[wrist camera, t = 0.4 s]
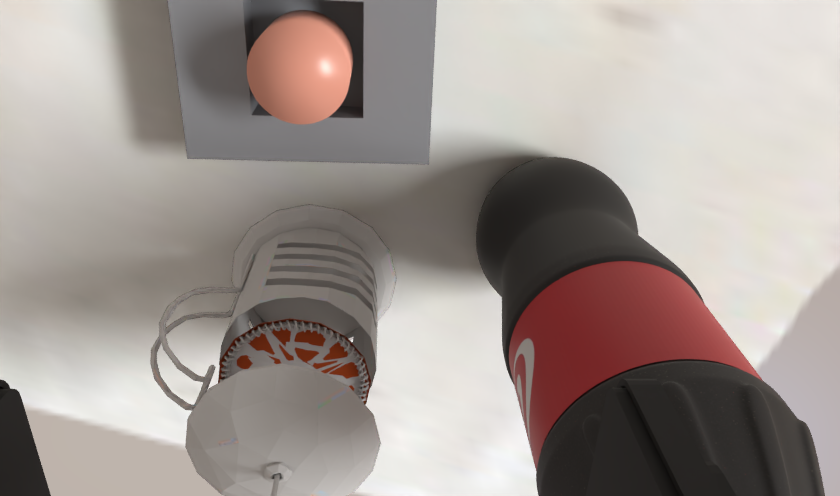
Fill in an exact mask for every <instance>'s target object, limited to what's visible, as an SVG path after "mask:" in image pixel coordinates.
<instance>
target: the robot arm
mask: <svg viewBox="0 0 840 496" xmlns="http://www.w3.org/2000/svg"><path fill="white" fill-rule="evenodd" d="M0 496H51V495H50V492H49V488H48V485H47V482H46V478H45V475H44V472H43V469H42V465H41V462H40V459H39V455H38V452H37V449H36V446H35V442H34V439H33V435H32V432H31V429H30V425H29V422H28V419H27V415H26V412H25V409H24V405H23V402H22V399H21V396H20V394H19V392H18V391H17V390H16V389H10V387H9V385H8V383H6V382H5V381H4V380H0ZM586 496H736V494H735V492H734V491H733V489H732V487H731V486H730V484H729V482H728V480H727V479H726V477H725V475H724V474H723V472H722V471H721V470H720V468H719V467H718V466H717V465H716V464H715V463H713V462H712V461H704V459H703V457H702V456H701V454H700V452H699V450H698V449H697V447H696V445H695V443H694V441H693V440H692V438H691V436H690V434H689V433H688V431H687V429H686V427H685V425H684V424H683V422H682V420H681V418H680V417H679V415H678V413H677V411H676V410H675V408H674V406H673V404H672V402H671V401H670V399H669V397H668V395H667V394H666V392H665V390H664V388H663V386H662V385H661V383H660V382H659V381H658V380H656V379H621V380H620V381H619V383H618V385H617V388H609V389H608V390H607V393H606V397H605V402H604V407H603V412H602V417H601V422H600V427H599V432H598V437H597V442H596V447H595V452H594V457H593V462H592V467H591V472H590V477H589V482H588V487H587V492H586Z"/></svg>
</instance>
